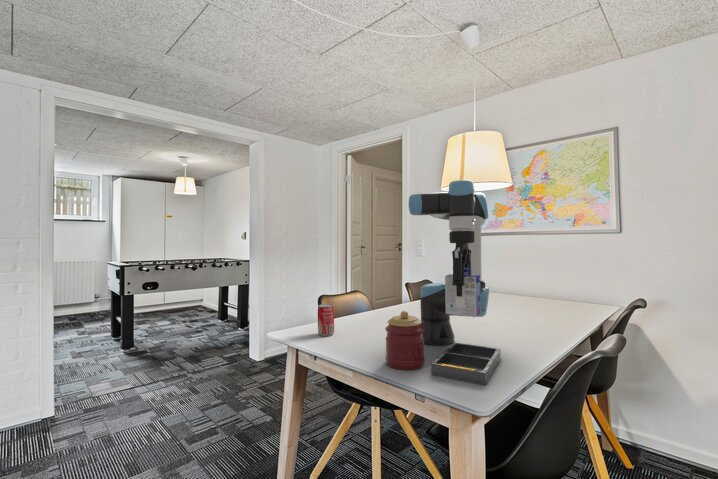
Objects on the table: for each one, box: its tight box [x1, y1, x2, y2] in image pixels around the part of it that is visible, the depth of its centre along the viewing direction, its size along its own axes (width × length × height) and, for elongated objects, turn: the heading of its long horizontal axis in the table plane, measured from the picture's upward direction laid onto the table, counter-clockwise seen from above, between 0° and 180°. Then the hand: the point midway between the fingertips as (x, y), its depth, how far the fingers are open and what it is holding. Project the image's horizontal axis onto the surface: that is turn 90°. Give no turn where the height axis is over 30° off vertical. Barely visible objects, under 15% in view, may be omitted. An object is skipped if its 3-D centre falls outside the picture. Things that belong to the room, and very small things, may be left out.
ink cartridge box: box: [444, 267, 481, 318], centre depth 111 cm, size 10×6×14 cm, turn 59°
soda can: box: [317, 303, 335, 337], centre depth 157 cm, size 7×7×13 cm
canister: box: [385, 310, 426, 371], centre depth 120 cm, size 13×13×18 cm
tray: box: [430, 342, 502, 386], centre depth 116 cm, size 16×25×4 cm, turn 149°
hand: (462, 305), depth 111 cm, fingers closed on ink cartridge box, 5 cm apart
